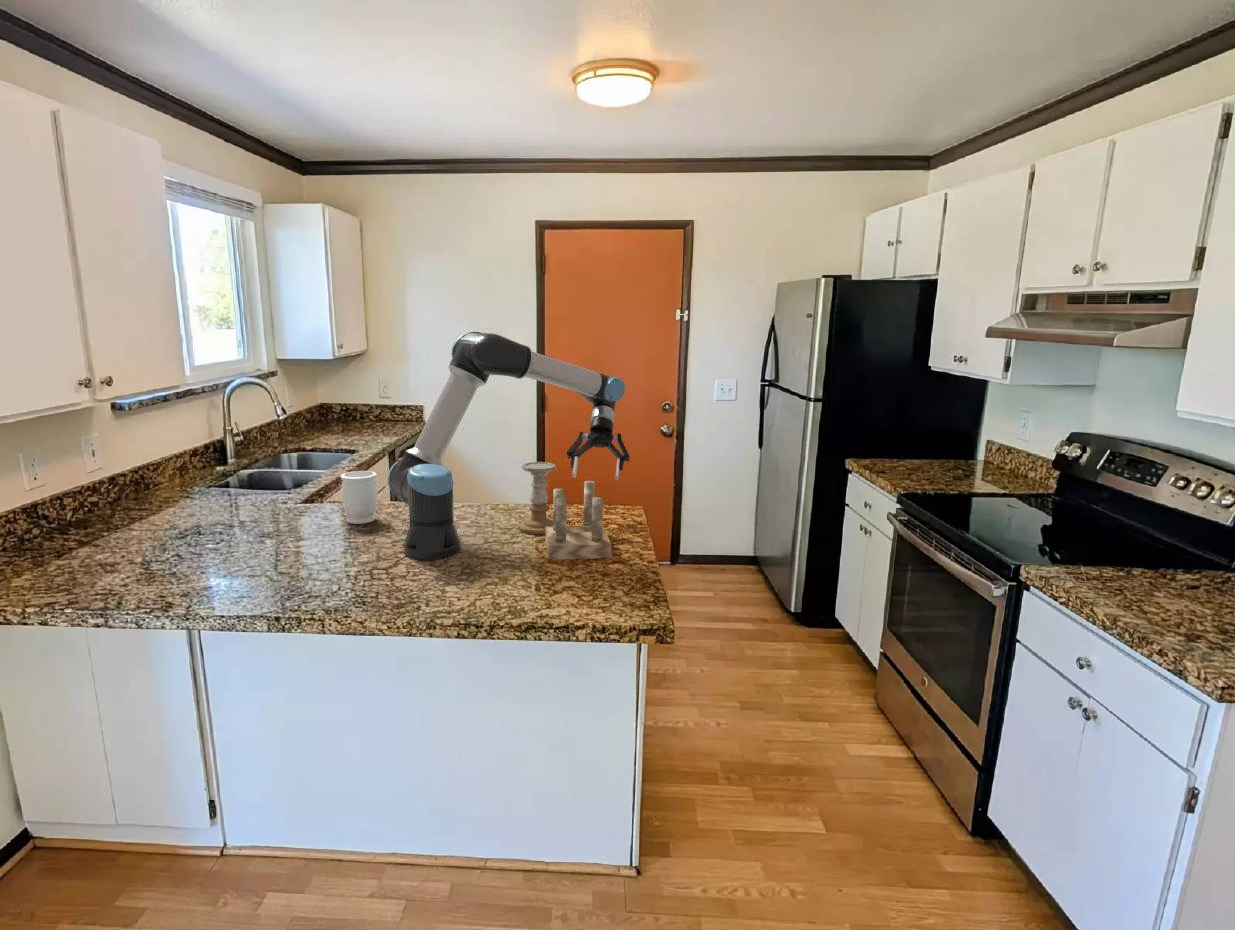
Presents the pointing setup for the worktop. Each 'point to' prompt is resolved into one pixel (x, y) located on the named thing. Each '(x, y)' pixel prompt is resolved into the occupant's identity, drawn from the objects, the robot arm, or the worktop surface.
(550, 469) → the candle holder
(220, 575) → the worktop surface
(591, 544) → the stool
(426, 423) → the robot arm
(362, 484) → the jar
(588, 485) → the stool leg
